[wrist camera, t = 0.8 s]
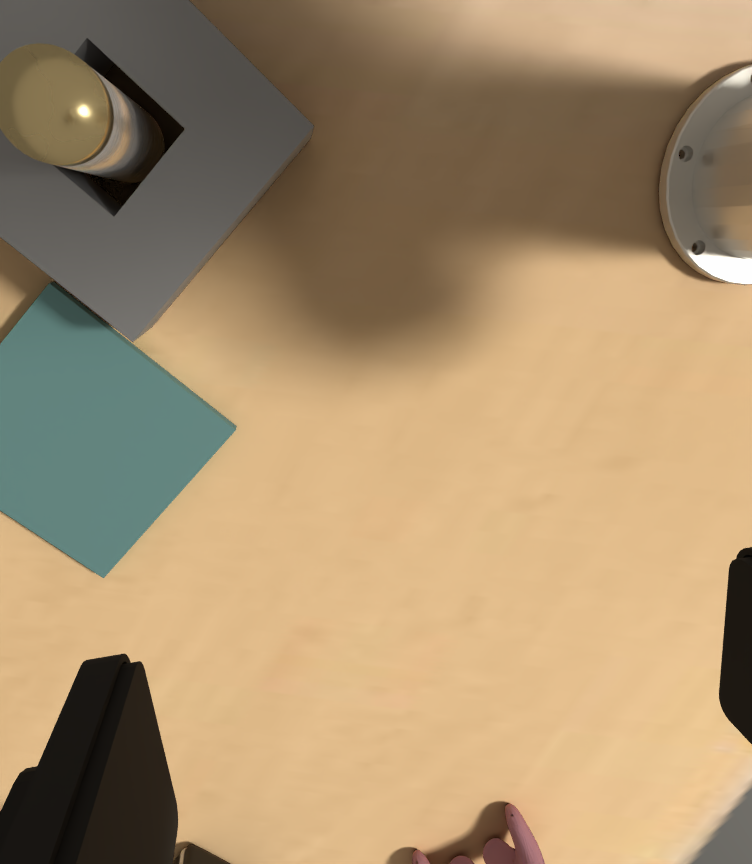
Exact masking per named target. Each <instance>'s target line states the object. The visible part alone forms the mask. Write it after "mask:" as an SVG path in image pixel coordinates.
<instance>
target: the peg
mask: <svg viewBox="0 0 752 864" xmlns="http://www.w3.org/2000/svg"><path fill="white" fill-rule="evenodd" d="M0 129H1V130H2V132H3V133H4V135H5V136H6V138H7V139H8V140H9V141H10V142H11V143H12V144H13V145H14V146H15V147H16V148H17V149H18V150H20V151H21V152H22V153H24V154H26V155H27V156H29V157H31V158H33V159H35V160H38V161H41V162H44V163H48V164H52V165H56V166H60V167H64V168H68V169H72V170H76V171H80V172H84V173H88V174H92V175H96V176H100V177H104V178H108V179H112V180H116V181H120V182H126V183H135V182H140V181H143V180H144V179H145V178H146V177H147V175H148V174H149V173H150V172H151V170H152V169H153V168H154V167H155V165H156V164H157V163H158V162H159V161H160V159H161V158H162V157H163V156H164V148H165V147H164V138H163V135H162V132H161V129H160V127H159V125H158V124H157V122H156V121H155V119H154V118H153V117H152V116H151V115H150V114H149V113H148V112H147V111H146V110H144V109H143V108H142V107H141V106H139V105H138V104H137V103H135V102H134V101H133V100H132V99H130V98H129V97H128V96H127V95H125V94H124V93H123V92H122V91H120V90H119V89H118V88H117V87H115V86H114V85H113V84H112V83H110V82H109V81H108V80H106V79H105V78H104V77H103V76H101V75H100V74H99V73H98V72H96V71H95V70H94V69H93V68H91V67H90V66H89V65H88V64H86V63H85V62H84V61H83V60H81V59H80V58H79V57H77V56H76V55H74V54H73V53H71V52H70V51H68V50H66V49H64V48H61V47H58V46H55V45H51V44H43V43H36V44H29V45H25V46H22V47H19V48H17V49H15V50H14V51H12V52H11V53H9V54H8V55H7V56H6V57H5V58H4V59H3V60H2V61H1V63H0Z"/></svg>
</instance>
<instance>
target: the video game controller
mask: <svg viewBox="0 0 752 864" xmlns="http://www.w3.org/2000/svg"><path fill="white" fill-rule="evenodd" d="M505 815H506V820H507V825H508V828H509V831H510V834H511V836H512V839H513V842H514V845H515V849H514V848H512V847H510V846H509V845H508V844H507V843H505V842H504V841H503V840H501V839H498V838H494V839H491V840H489V841H488V842H487V843H486V845H485V846H484V849H483V858H484V861H485V863H486V864H545V863H544V860H543V857H542V854H541V851H540V849H539V846H538V844H537V842H536V840H535V838H534V836H533V834H532V832H531V831H530V829H529V827H528V825H527V824H526V822H525V820H524V818H523V817H522V815H521V814H520V812H519V811H518V809H517V808H516V807H515V806H514V805H512V804H507V805H506V806H505ZM412 861H413V864H430V862H429V861H428V859H427V858H426V857H425V855H424V854H423V853H422V852H421V851H420V850H415V851H414V852H413V857H412ZM450 864H474V863H473V862H472V861H471V859H469V858H468V857H466V856H457V857H455V858H453V859H452V860H451V862H450Z"/></svg>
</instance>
